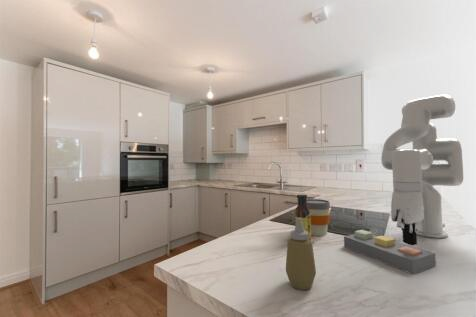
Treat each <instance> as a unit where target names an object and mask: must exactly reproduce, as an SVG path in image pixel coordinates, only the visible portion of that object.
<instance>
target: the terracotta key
mask: <svg viewBox="0 0 476 317" xmlns="http://www.w3.org/2000/svg"><path fill="white" fill-rule="evenodd" d="M398 251H400V252H403V253H406V254H409V255H412V256H416V255H420V254H422V251H420V250H417V249H414V248H410V247H407V246H405V247H402V248H398Z"/></svg>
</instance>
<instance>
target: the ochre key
mask: <svg viewBox="0 0 476 317" xmlns="http://www.w3.org/2000/svg"><path fill="white" fill-rule="evenodd" d="M377 236H378V237H374V243H375V244H378V245H381V246H384V247H391V246H394V245H395V241H396V239H395V238H393V237H388V236H385V235H377Z"/></svg>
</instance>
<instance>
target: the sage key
mask: <svg viewBox="0 0 476 317" xmlns="http://www.w3.org/2000/svg"><path fill="white" fill-rule="evenodd" d="M354 234H355V237H357V238H360V239H363V240H368V239H372V238H373V235H374V233H373V231H372V232H371V231H368V230H365V229H360V230H359V229H358V230H354Z"/></svg>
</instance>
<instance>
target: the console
mask: <svg viewBox="0 0 476 317" xmlns="http://www.w3.org/2000/svg"><path fill="white" fill-rule="evenodd" d="M378 236H379V235H375V234H373V238H372V239H368V240H363V239H360V238H357V237H355V233H353V234H349V235H344V236H343V247H344V248H347V249H349V250H351V251H354V252H356V253H359V254H361V255H364V256H367V257H370V258H372V259H374V260H376V261H379V262H382V263H384V264H387V265H389V266H392V267H393V268H397V269H399V270H402V271H404V272H407V273H409V274H412V275H414V274H415V275H416V274H418V273H420V272H423V271H426V270H429V269H431V268H434V267H436V265H437V264H436V252H432V251H429V250H426V249H423V248H419V247H416V246H414V245H409V244H406V243H404V242H403V243H402V242H399V241H396V240H395V245H394V246H391V247H384V246H381V245H378V244H375V243H374V237H378ZM405 246H407V247H410V248H414V249H417V250H420V251H422V254H420V255H416V256H412V255H409V254H406V253H403V252H400V251H398V248H402V247H405Z"/></svg>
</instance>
